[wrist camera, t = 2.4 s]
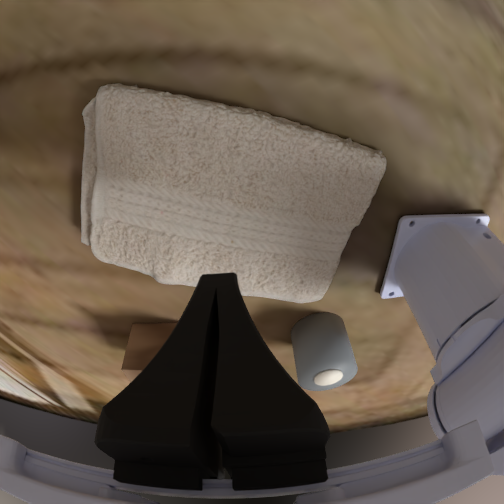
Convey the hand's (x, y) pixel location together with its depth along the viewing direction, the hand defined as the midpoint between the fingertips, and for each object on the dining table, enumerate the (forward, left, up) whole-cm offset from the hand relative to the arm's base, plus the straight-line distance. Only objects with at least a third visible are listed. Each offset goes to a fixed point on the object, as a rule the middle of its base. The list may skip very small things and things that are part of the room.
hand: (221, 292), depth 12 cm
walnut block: (+7, +14, -8) cm, 18 cm away
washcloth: (0, 0, -9) cm, 9 cm away
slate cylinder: (-7, +14, -8) cm, 18 cm away
